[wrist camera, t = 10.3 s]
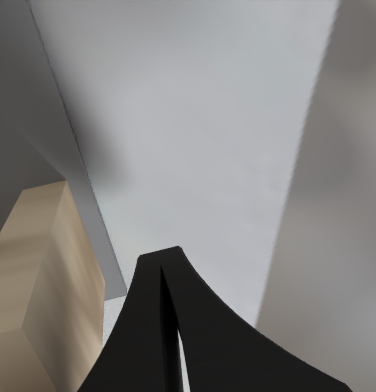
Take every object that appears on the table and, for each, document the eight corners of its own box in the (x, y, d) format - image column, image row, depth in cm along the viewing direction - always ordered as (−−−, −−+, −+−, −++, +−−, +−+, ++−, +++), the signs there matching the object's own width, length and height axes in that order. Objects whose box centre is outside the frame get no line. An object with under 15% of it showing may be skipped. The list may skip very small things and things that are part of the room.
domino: (105, 282, 16) (96, 459, 9) (68, 291, 15) (35, 477, 9) (66, 180, 13) (21, 327, 7) (22, 190, 13) (-63, 349, 7)
